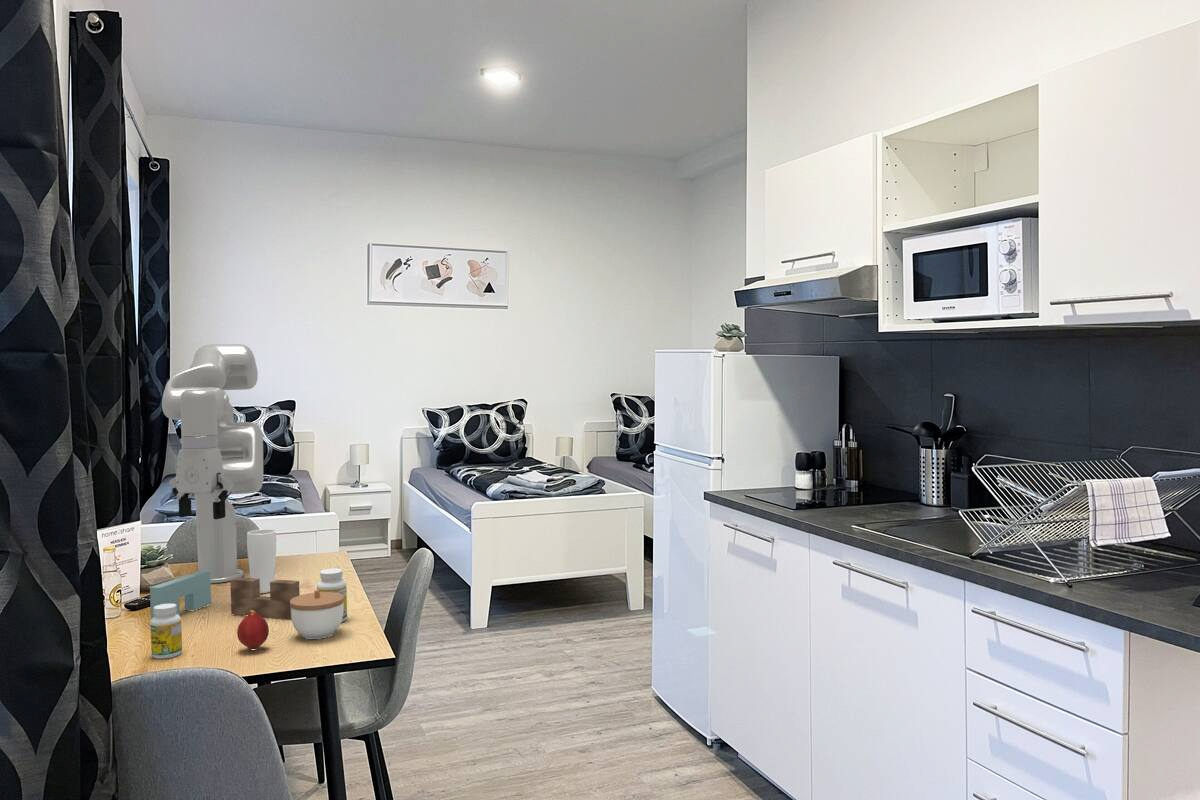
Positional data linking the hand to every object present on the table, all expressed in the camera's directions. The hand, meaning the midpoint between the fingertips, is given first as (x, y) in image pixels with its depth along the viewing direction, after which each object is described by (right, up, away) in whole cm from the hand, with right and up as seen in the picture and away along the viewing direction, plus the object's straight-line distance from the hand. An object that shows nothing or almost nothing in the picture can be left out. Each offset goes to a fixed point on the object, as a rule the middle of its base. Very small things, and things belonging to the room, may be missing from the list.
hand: (202, 517), depth 203 cm
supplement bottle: (+7, -23, -31) cm, 39 cm away
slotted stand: (+17, -21, -5) cm, 28 cm away
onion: (+23, -22, -29) cm, 44 cm away
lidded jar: (+33, -22, -20) cm, 45 cm away
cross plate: (-3, -22, -3) cm, 22 cm away
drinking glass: (+8, -21, +16) cm, 27 cm away
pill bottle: (+33, -22, -10) cm, 41 cm away
